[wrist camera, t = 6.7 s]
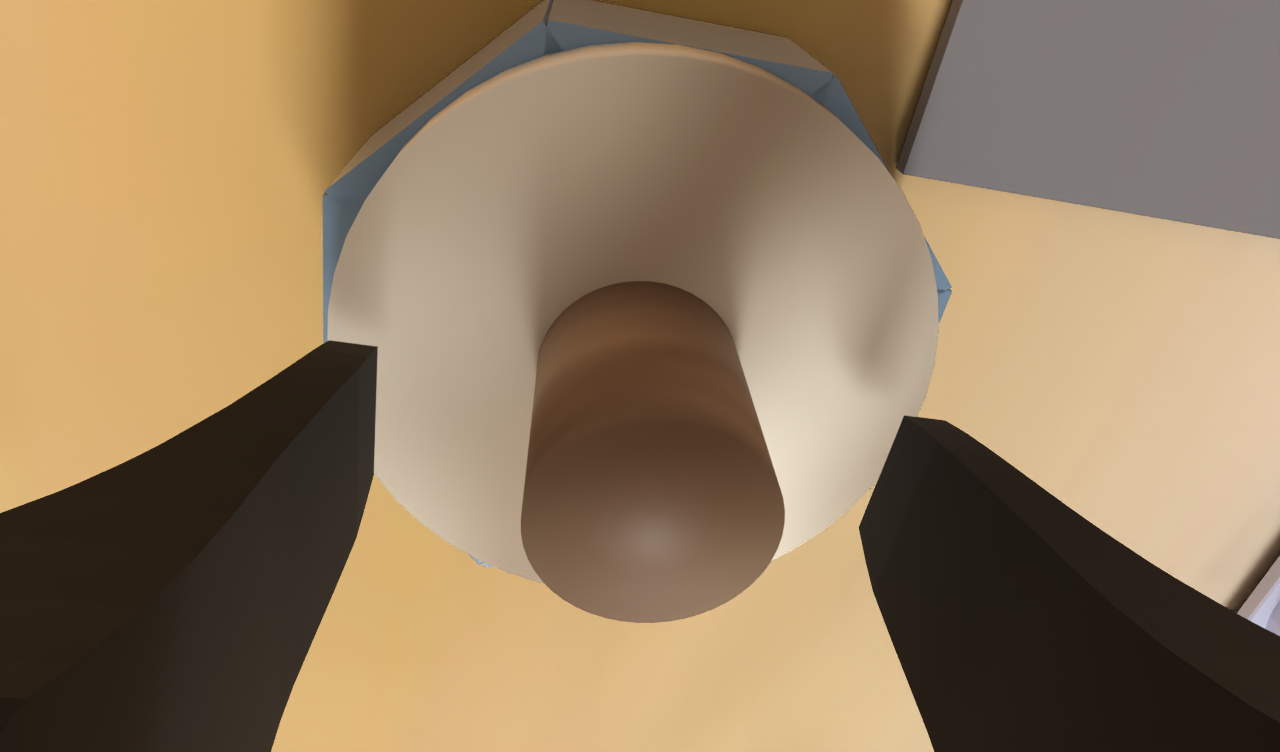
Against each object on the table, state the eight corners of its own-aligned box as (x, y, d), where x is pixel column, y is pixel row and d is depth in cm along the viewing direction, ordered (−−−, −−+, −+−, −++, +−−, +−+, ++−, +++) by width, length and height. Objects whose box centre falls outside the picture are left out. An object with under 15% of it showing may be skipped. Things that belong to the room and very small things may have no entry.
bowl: (946, 68, 14) (1025, 108, 12) (795, 503, 19) (828, 599, 17) (374, -43, 13) (321, -23, 11) (362, 454, 18) (324, 551, 15)
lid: (1017, 136, 12) (1221, 256, 8) (799, 587, 16) (864, 806, 12) (378, -42, 10) (254, 3, 7) (322, 508, 15) (228, 732, 11)
